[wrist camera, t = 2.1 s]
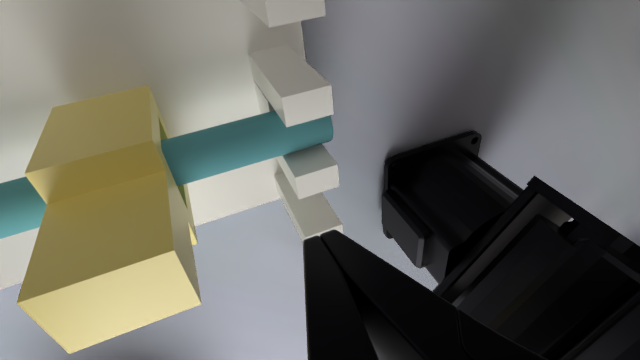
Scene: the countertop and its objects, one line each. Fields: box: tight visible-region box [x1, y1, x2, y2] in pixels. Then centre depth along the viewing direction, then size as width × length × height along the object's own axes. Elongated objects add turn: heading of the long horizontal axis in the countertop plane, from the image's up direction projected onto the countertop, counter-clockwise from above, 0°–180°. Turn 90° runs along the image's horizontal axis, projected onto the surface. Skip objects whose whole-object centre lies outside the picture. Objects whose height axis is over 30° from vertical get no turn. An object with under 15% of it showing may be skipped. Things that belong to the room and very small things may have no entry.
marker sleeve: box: [17, 85, 201, 354], centre depth 11 cm, size 3×4×7 cm
